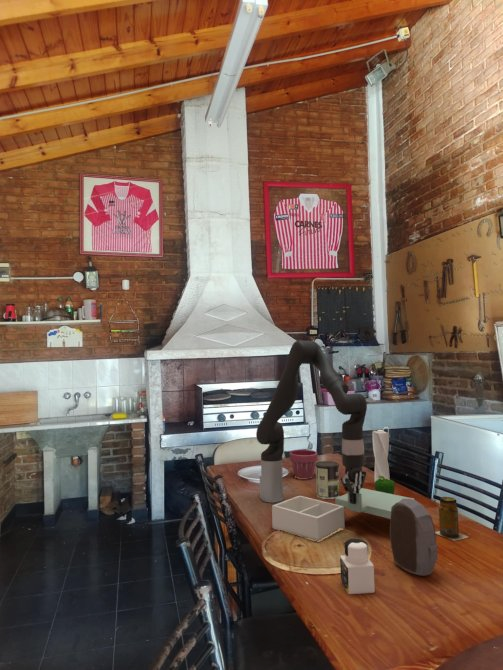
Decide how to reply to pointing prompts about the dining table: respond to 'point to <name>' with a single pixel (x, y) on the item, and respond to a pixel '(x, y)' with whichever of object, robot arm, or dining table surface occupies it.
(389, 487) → the bell pepper
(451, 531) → the condiment
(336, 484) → the coffee can
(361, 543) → the medicine bottle
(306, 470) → the plant pot
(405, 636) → the dining table surface
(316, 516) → the parts tub
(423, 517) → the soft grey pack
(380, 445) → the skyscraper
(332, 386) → the robot arm
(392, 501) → the lid
